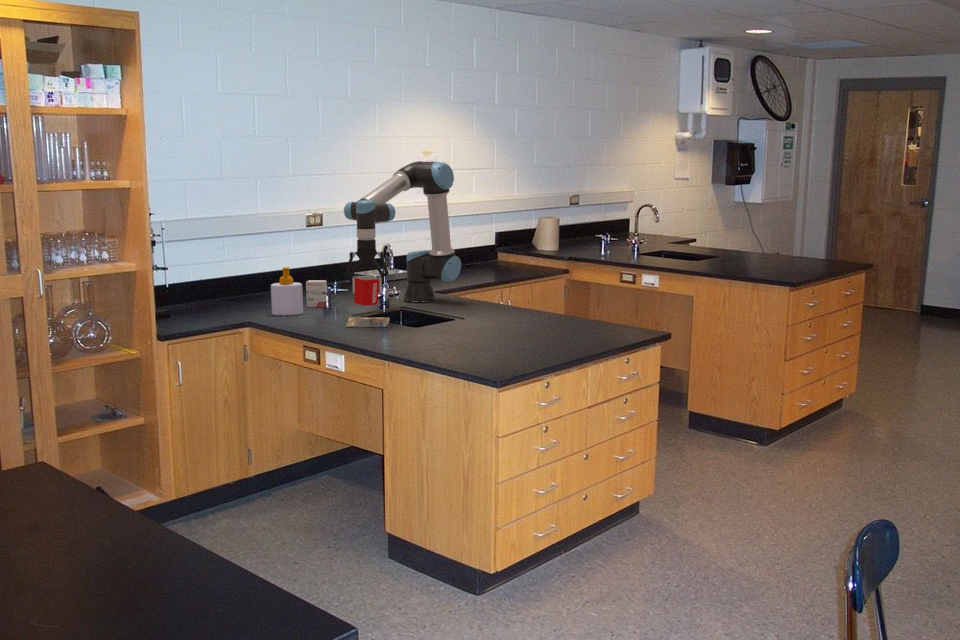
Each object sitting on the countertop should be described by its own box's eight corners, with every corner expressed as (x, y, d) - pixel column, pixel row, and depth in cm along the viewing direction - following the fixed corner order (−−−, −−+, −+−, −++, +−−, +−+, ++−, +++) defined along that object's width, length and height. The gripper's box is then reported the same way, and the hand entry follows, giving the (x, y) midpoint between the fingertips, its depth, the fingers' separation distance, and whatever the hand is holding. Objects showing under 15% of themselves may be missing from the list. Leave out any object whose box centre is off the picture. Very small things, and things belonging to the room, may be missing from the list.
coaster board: (389, 318, 396) (389, 317, 396) (388, 327, 379) (388, 325, 379) (349, 319, 395) (349, 317, 395) (345, 327, 378) (345, 326, 378)
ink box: (328, 305, 424) (327, 279, 421) (325, 307, 419) (324, 281, 417) (309, 305, 425) (308, 279, 422) (306, 307, 420) (305, 281, 417)
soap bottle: (272, 316, 400) (269, 269, 396) (272, 312, 408) (270, 266, 404) (303, 315, 403) (301, 268, 399) (302, 311, 411) (301, 265, 407)
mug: (364, 306, 378) (365, 280, 376) (351, 302, 384) (352, 276, 382) (387, 303, 387) (388, 278, 385) (374, 300, 392) (375, 275, 390)
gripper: (394, 237, 384) (395, 290, 389) (338, 237, 383) (340, 291, 387) (394, 239, 377) (394, 294, 381) (337, 240, 375) (338, 294, 380)
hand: (367, 292), depth 384 cm, fingers closed on mug, 10 cm apart
